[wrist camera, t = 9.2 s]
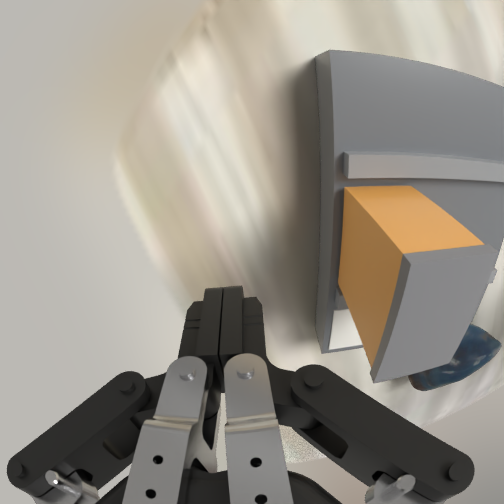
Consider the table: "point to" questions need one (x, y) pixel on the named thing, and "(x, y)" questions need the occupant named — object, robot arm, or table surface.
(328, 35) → the table surface
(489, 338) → the seashell
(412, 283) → the breaker toggle
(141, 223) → the table surface
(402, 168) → the panel
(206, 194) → the table surface
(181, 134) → the table surface
